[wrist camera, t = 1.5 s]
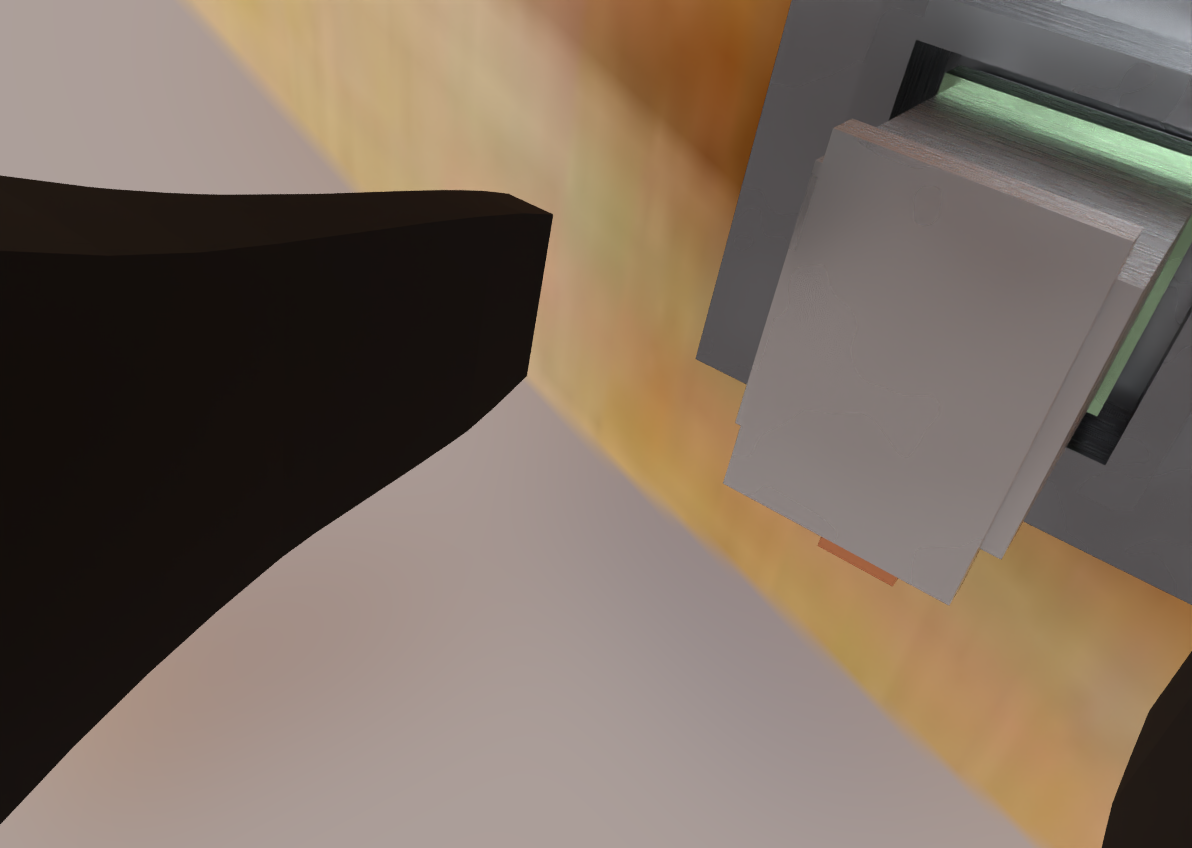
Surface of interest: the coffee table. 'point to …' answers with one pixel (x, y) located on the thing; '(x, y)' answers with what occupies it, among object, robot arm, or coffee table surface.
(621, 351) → the coffee table surface
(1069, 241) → the pull-out drawer
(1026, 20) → the grey slotted holder
